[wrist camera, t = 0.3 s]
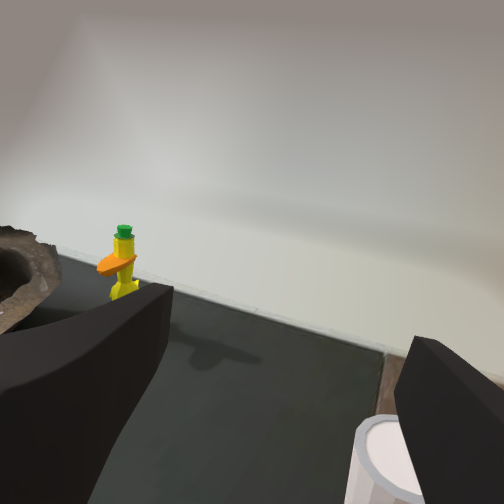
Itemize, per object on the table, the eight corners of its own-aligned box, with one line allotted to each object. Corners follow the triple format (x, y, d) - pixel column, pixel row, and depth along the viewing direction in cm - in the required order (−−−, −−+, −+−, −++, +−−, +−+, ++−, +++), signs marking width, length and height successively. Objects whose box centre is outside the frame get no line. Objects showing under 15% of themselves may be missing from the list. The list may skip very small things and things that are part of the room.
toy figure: (116, 343, 43) (113, 242, 39) (89, 334, 44) (82, 234, 40) (150, 313, 49) (151, 222, 45) (126, 306, 50) (124, 216, 46)
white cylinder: (424, 603, 24) (460, 531, 21) (319, 535, 27) (339, 464, 24) (439, 511, 30) (469, 444, 27) (351, 463, 33) (370, 398, 30)
